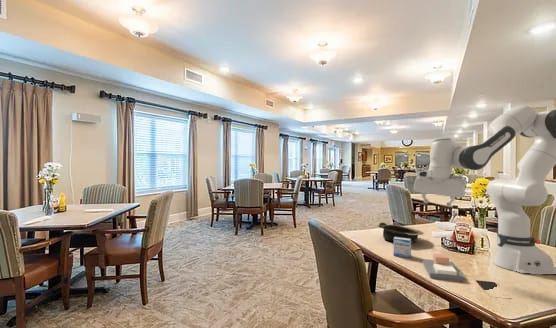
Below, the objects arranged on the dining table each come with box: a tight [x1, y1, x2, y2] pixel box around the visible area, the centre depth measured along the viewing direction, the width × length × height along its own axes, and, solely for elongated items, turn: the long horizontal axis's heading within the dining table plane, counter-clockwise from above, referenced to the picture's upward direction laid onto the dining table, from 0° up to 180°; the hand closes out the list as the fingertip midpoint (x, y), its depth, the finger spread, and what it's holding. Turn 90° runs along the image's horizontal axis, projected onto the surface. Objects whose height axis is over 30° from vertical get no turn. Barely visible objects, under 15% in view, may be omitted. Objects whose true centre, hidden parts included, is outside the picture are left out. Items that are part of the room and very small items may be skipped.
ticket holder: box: [422, 258, 465, 282], centre depth 121 cm, size 12×17×4 cm
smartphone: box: [475, 279, 498, 291], centre depth 105 cm, size 7×1×14 cm
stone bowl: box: [377, 222, 425, 244], centre depth 169 cm, size 25×25×9 cm
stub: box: [432, 253, 450, 265], centre depth 123 cm, size 5×5×4 cm
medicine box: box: [392, 237, 412, 259], centre depth 142 cm, size 8×4×9 cm, turn 62°
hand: (437, 204), depth 128 cm, fingers open, 8 cm apart
